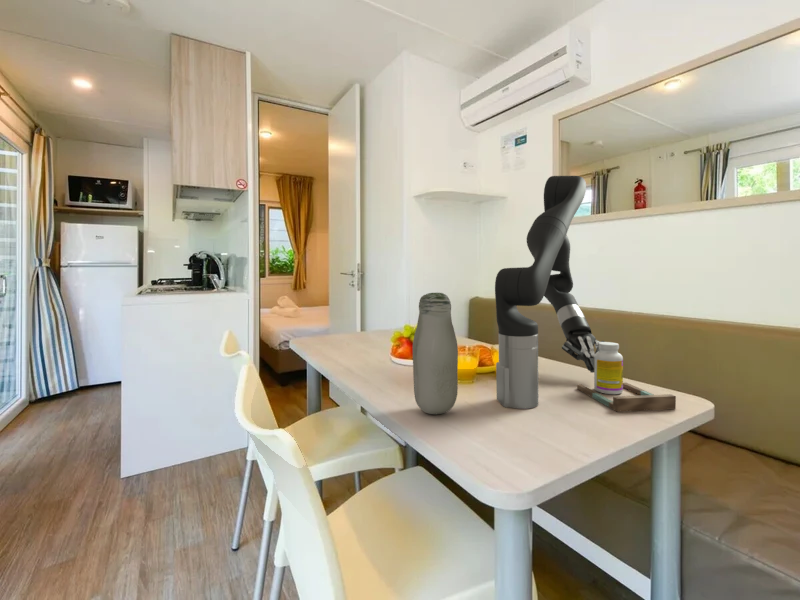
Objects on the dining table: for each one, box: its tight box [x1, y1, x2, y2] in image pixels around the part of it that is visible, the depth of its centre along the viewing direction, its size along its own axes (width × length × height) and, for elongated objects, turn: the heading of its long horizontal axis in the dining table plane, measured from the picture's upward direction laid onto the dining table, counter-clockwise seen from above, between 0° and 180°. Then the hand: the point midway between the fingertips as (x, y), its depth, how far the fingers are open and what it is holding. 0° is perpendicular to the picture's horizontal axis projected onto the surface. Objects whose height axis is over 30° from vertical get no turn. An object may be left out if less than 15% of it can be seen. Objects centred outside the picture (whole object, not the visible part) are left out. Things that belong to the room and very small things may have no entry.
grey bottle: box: [412, 292, 459, 415], centre depth 88 cm, size 10×10×28 cm
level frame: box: [576, 382, 677, 413], centre depth 95 cm, size 14×18×3 cm
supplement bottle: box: [593, 341, 624, 395], centre depth 100 cm, size 7×7×13 cm
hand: (595, 371), depth 107 cm, fingers closed
